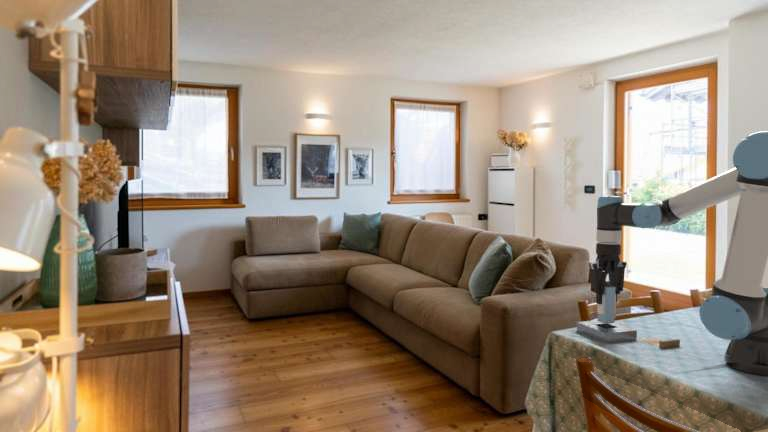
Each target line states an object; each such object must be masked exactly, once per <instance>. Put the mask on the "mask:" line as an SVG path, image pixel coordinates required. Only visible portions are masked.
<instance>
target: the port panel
mask: <svg viewBox="0 0 768 432" xmlns="http://www.w3.org/2000/svg"><path fill="white" fill-rule="evenodd" d="M576 331H577V332H579V333H581V334H584V335H586V336H588V337H591V338H593V339H595V340H598V341H600V342H602V343H604V344H605V343H606V344H609V343H618V342H619V343H620V342H627V341H634V340H637V338H638V330H637V329H635V328H631V327H629V326H626V325H623V324H620V323H618V322H615V321H614V323H609V324H604V323H602V322H599V321H598V319H595V320H594V319H593V320H586V321H585V320H584V321H577V322H576Z"/></svg>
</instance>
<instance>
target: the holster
mask: <svg viewBox="0 0 768 432" xmlns="http://www.w3.org/2000/svg"><path fill="white" fill-rule="evenodd" d="M639 341H642V342H643V343H647V344H649V345H652V346H654V347H657V348H659V349H667V348H668V349H669V348H674V347H675V348H676V347H680V346H681V345H680V344H681V343H680V342H681V340H680V339H679V338H674V339H673V338H672V339H664V340H663V339H661V338H657V337H651V338H643V339H639Z"/></svg>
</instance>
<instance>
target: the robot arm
mask: <svg viewBox="0 0 768 432" xmlns="http://www.w3.org/2000/svg"><path fill="white" fill-rule="evenodd" d="M732 155H733V156H732V163H733V167H734V168H731V169H729V170H727V171H725V172H723V173H720V174H718V175H716V176H713V177H711V178H709V179H707V180H705V181H703V182H700V183H699V184H696V185H694V186H692V187H690V188H688V189H685V190H682V191H681V192H679V193H677V194H674V195H672V196H670V197H667V198H665V199H663V200H661V201H659V202H624V199H623V196H621V195H600V196H599V197H598V200H597V207H596V223H597V225H596V244H595V254H596V259H595V261H594V262H588V266H589V269H590V291H591V293H594V294H595V303H596V304H597V311H596V313H597V314H598V313H599V314H602V315H605V295H604V294H603V293H604V287H605V282H606V281H607V276H608V281H610V286H614V287H615V314H616V315H617V305H616V304H617V303H618V295H620V294H621V292H623V291H624V283H625V272H626V268H627V261H623V260H621V258H620V255H621V254H622V245H621V242H622V227H634V228H641V229H655V228H656V227H659V226H660V227H661V226H662V227H663V226H665V227H669V226H674V225H676V224H678V223H679V222H680V221H681V220H682V219H685V218H686V217H688V216H689V217H690V216H692V215H694V214H697V213H699V212H702V211H704V210H707V209H709V208H712V207H713V206H714V207H715V206H717V205H719V204H721V203H724V202H727V201H729V200H731V199H733V198H736V197H738V196H739V200H738V204H737V209H736V214H735V217H734V222H733V226H732V230H731V233H730V234H731V235H730V239H729V243H728V244H729V245H728V249H727V253H726V257H725V261H724V265H723V270H722V275H721V277H720V278H719V279H717V280H715V281H714V282H713V284H712V287H711V288H712V289H711V293H710V295H709V296H708V297H707V298H705V299H704V300H703V301H702V302H701V305H700V306H699V318H700V321H701V324H702V325H703V326H704V328H705V329H706V330H707V331H708V332H709V333H710V334H711V335H713V336H714V337H717V338H719V339H722V340H727V341H729V340H730V342H729V344H728V346H727V348H726V349H725V352H724V361H725V362H726V363H725V365H727V366H728V367H731V368H732V369H735V370H738V371H741V372H744V373H748V374H753V375H758V376H766V377H768V286H766V285H762V283H763V278H764V274H765V271H766V266H767V262H768V130H764V131H757V132H754V133H750V134H749V135H747V136H746V137H744V138H743V139H742V140H741V141H740V142H738V144H737V145H736V147H735V148H734V151H733V154H732Z"/></svg>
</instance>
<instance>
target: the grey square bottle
mask: <svg viewBox="0 0 768 432" xmlns="http://www.w3.org/2000/svg"><path fill="white" fill-rule="evenodd" d="M603 294H604V295H605V315H602V314H599V313H597V320H598V321H599V322H602V323H604V324H609V323H614V322H615V319H614V317H615V287H614V286H610V281H609V280H606V282H605V287H604V293H603ZM615 318H616V317H615Z"/></svg>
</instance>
